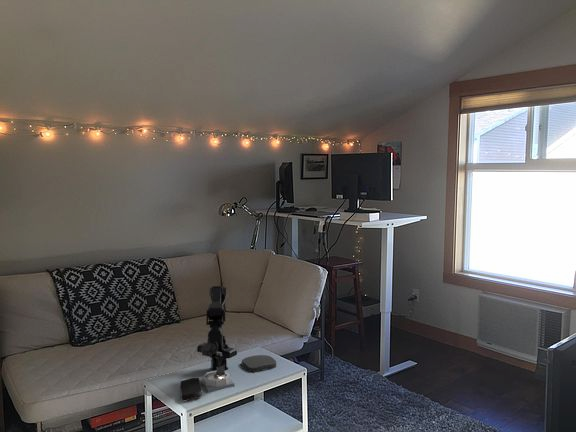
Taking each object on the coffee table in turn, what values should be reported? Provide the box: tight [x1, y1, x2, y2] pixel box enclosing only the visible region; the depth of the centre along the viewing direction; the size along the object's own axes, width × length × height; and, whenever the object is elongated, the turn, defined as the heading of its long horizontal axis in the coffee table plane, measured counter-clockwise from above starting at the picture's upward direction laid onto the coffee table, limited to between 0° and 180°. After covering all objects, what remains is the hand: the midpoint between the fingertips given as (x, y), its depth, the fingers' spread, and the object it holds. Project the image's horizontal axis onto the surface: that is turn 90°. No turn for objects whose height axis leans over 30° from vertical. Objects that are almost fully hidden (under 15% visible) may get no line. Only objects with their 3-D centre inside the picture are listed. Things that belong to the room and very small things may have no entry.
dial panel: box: [199, 370, 235, 393], centre depth 221 cm, size 12×12×4 cm
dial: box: [207, 365, 226, 380], centre depth 221 cm, size 8×8×6 cm
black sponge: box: [179, 377, 203, 401], centre depth 213 cm, size 16×8×4 cm, turn 15°
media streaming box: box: [241, 354, 277, 373], centre depth 243 cm, size 15×15×3 cm
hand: (217, 368), depth 224 cm, fingers closed
